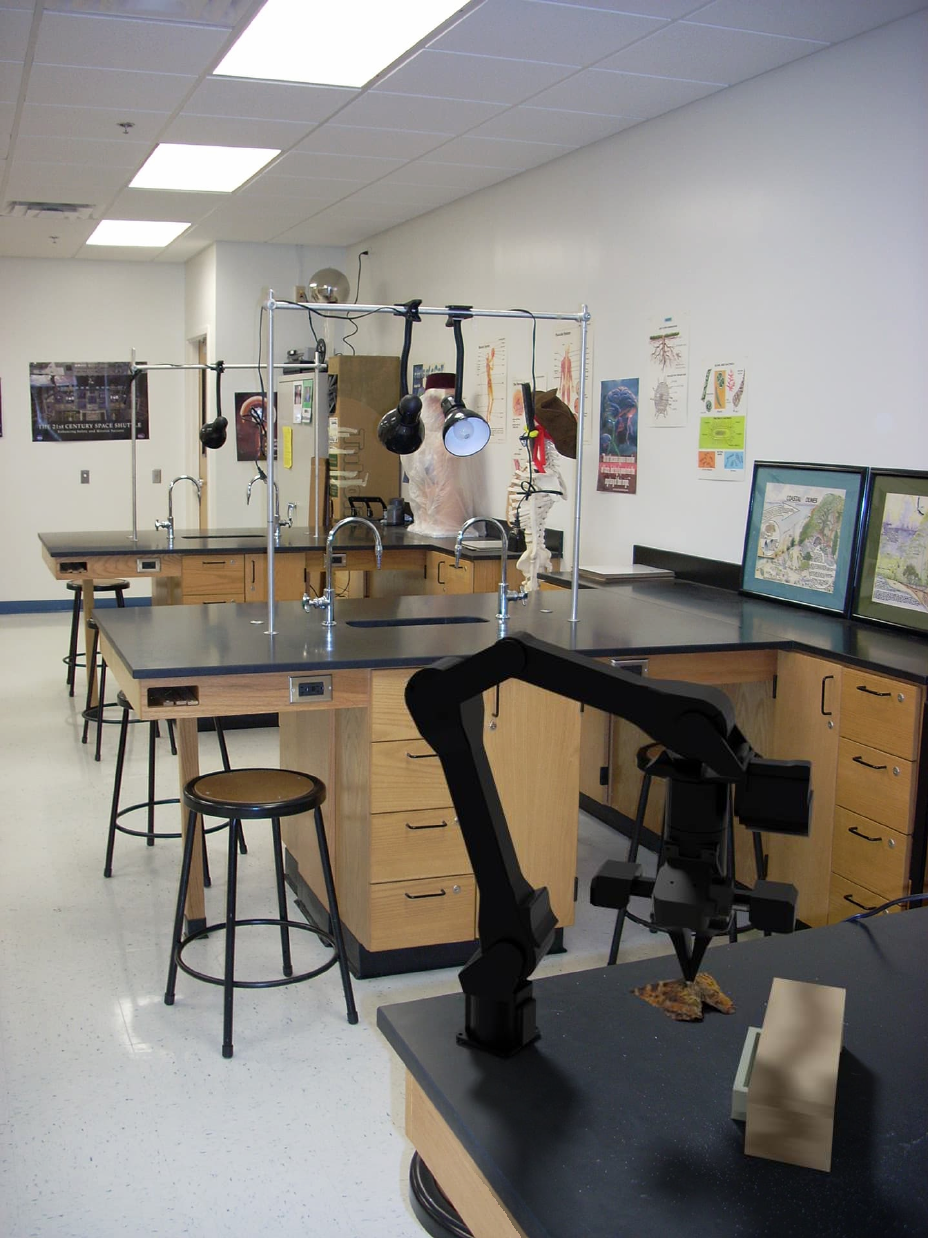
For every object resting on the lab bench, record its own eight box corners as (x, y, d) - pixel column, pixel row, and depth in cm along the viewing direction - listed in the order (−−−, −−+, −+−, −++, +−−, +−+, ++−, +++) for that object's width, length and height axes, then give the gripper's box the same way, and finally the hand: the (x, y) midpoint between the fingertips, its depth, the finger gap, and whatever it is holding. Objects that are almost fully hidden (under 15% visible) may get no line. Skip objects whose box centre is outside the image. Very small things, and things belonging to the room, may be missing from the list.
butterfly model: (622, 998, 130) (622, 972, 129) (713, 977, 135) (714, 951, 135) (668, 1035, 122) (669, 1007, 122) (763, 1010, 127) (764, 984, 127)
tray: (731, 1118, 106) (732, 1089, 106) (747, 1053, 118) (749, 1026, 117) (800, 1132, 104) (801, 1103, 104) (810, 1064, 116) (812, 1038, 115)
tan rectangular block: (744, 1154, 101) (747, 1089, 100) (771, 1032, 122) (774, 977, 121) (829, 1172, 99) (833, 1106, 98) (842, 1044, 119) (845, 989, 118)
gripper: (576, 838, 105) (573, 1002, 108) (792, 866, 99) (783, 1039, 102) (605, 802, 116) (601, 951, 118) (802, 824, 109) (794, 982, 112)
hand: (690, 980), depth 112 cm, fingers closed
